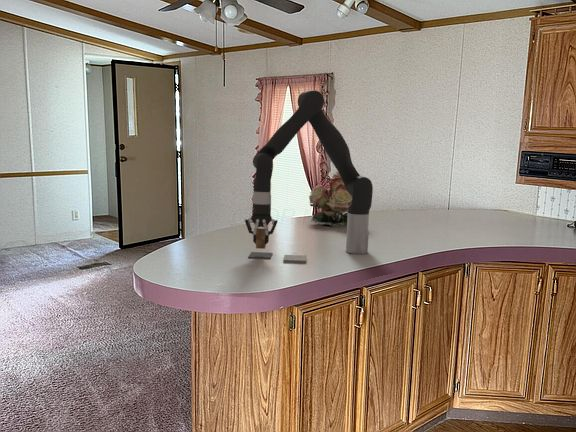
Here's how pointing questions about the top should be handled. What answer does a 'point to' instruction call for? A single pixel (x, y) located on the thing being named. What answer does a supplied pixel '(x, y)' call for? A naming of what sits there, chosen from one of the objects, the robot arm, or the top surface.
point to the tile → (294, 259)
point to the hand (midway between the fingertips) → (260, 243)
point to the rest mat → (260, 255)
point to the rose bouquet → (331, 202)
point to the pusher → (260, 238)
